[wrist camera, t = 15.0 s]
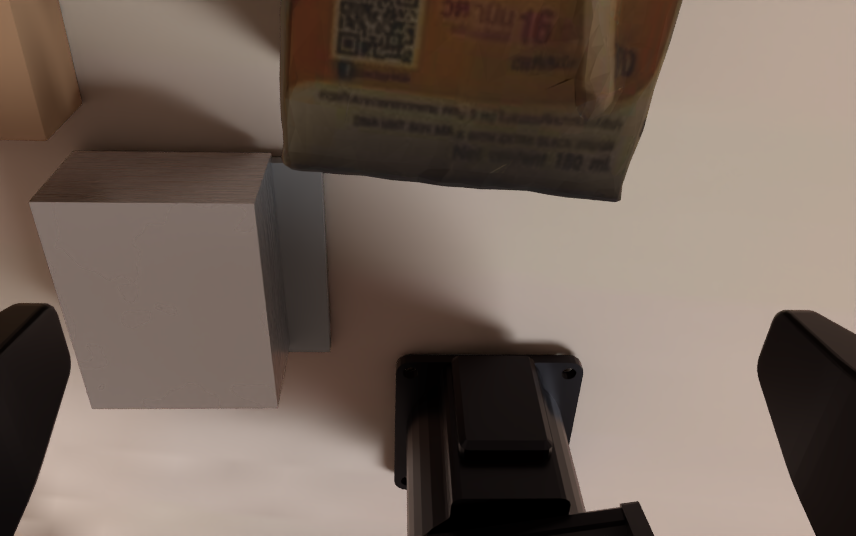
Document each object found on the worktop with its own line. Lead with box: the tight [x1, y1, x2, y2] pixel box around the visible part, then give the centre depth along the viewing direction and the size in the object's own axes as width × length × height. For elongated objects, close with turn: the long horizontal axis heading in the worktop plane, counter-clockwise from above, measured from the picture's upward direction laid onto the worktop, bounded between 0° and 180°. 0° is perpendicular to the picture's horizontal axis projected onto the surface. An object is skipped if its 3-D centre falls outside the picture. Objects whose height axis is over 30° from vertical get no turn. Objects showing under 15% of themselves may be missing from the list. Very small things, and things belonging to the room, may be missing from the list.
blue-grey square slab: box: [272, 157, 331, 352], centre depth 23 cm, size 7×7×1 cm
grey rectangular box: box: [29, 151, 290, 409], centre depth 22 cm, size 7×6×3 cm
